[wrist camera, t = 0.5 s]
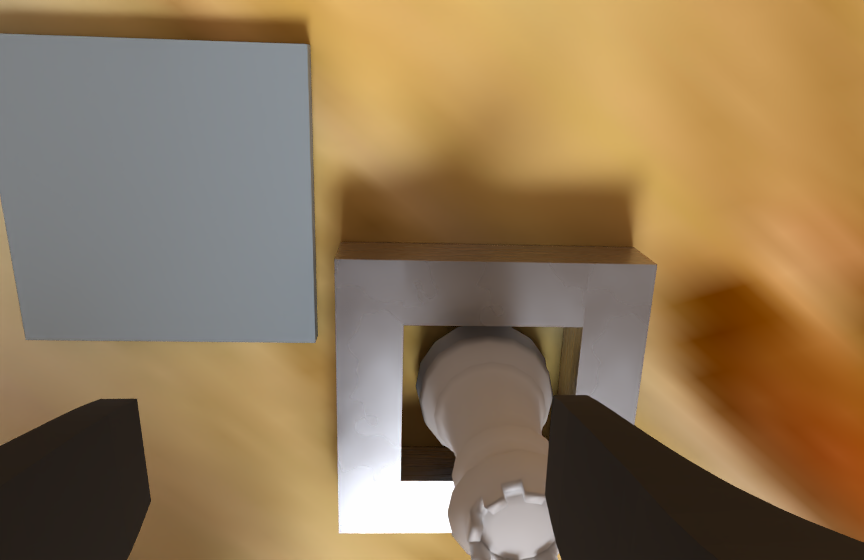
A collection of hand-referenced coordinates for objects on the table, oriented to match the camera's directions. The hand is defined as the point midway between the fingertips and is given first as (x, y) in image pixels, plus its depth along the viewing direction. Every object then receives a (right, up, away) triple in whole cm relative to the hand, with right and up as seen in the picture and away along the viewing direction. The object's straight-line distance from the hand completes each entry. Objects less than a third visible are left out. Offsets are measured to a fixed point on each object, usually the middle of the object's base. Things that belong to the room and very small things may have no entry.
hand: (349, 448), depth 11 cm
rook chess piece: (+3, 0, +11) cm, 11 cm away
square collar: (+3, 0, +11) cm, 11 cm away
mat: (-7, +5, +8) cm, 12 cm away
